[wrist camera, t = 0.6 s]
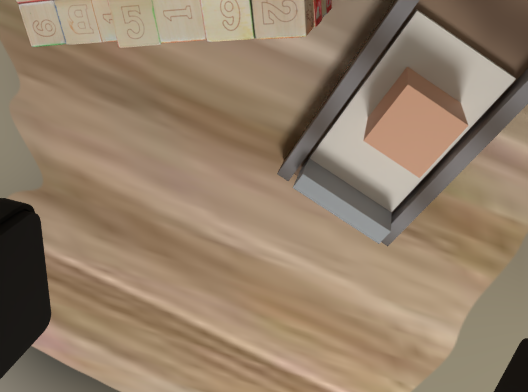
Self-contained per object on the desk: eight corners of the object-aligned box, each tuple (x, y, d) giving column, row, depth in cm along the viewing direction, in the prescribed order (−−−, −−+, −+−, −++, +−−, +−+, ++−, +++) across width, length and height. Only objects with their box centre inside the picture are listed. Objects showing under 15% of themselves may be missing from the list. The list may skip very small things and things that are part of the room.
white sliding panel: (416, 9, 35) (418, 17, 31) (513, 76, 35) (525, 91, 32) (301, 167, 43) (292, 187, 40) (380, 219, 44) (379, 243, 40)
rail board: (511, -167, 30) (520, -175, 27) (661, -57, 30) (683, -56, 28) (283, 161, 45) (277, 174, 42) (388, 229, 45) (387, 246, 43)
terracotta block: (407, 66, 36) (408, 84, 32) (460, 102, 36) (468, 125, 32) (367, 117, 39) (363, 140, 34) (417, 151, 39) (419, 178, 35)
